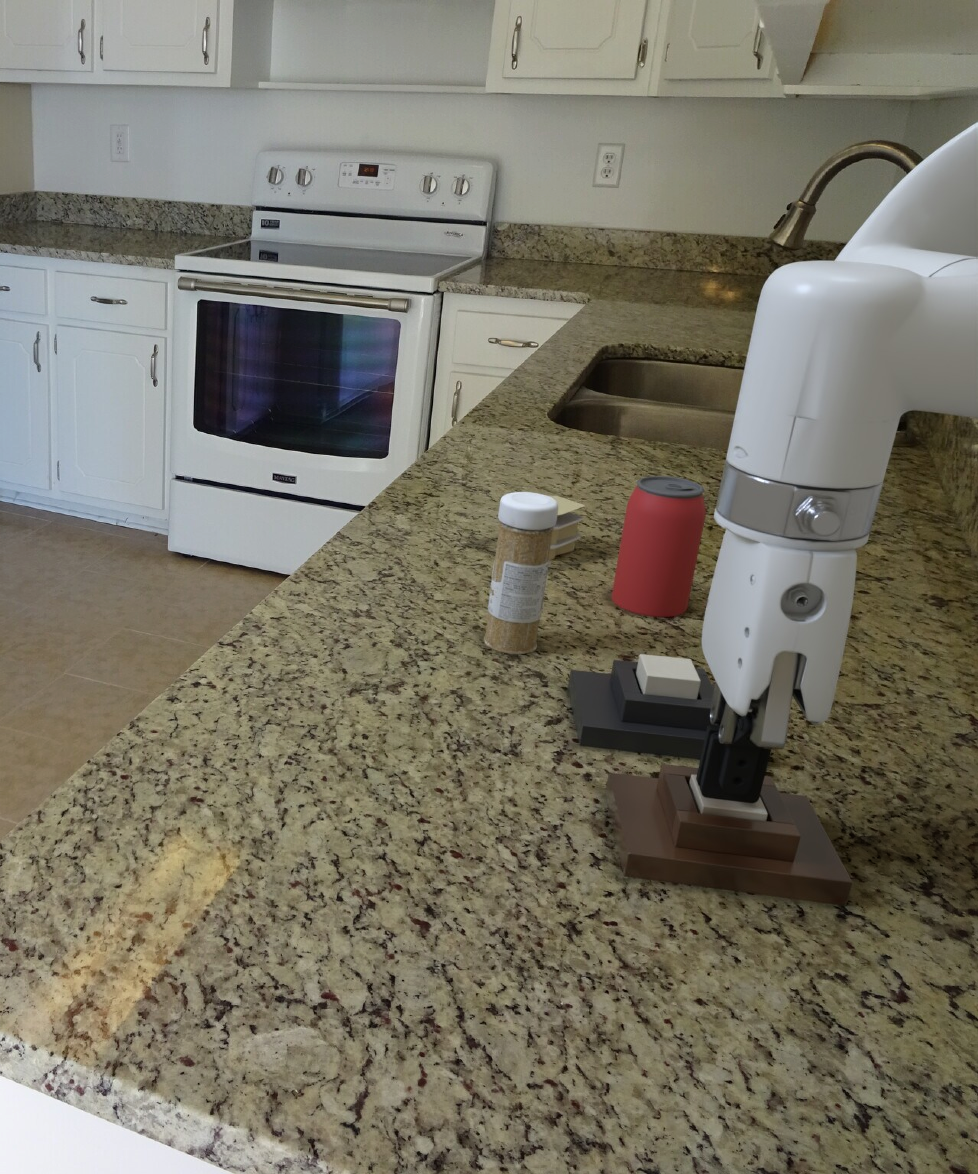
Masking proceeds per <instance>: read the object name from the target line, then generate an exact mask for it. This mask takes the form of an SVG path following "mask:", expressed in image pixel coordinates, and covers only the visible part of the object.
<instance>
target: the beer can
mask: <svg viewBox="0 0 978 1174" xmlns="http://www.w3.org/2000/svg"><path fill="white" fill-rule="evenodd" d="M704 493H705V488H704V486H702V485H701V484H700V483H698V482H695V481H694V480H689V479H686V478H682V477H675V476H666V475H651V476H650V475H649V476H644V477H640V478H639V479H638V480H637V481H636V487H635V488H634V489H633V491H632V493H631V494H630V495H629V498H628V501H627V503H626V509H625V514H624V521H623V527H622V533H621V538H620V544H619V551H618V556H617V561H616V568H615V574H614V580H613V584H612V585H613V586H612V592H611V600H612V602H613V604H615V606H617V607H619V608H621V609H622V610H624V611H628V612H630V613H632V614H637V615H641V616H646V617H654V618H673V617H678V616H680V615H683V614H685V612H686V611H687V610H688V606H689V602H690V597H691V590H692V586H693V582H694V576H695V572H696V567H697V561H698V556H699V551H700V546H701V541H702V537H703V531H704V526H705V521H706V516H707V512H706V511H707V510H706V509H707V508H706V503H705V499H704Z"/></svg>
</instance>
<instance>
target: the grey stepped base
mask: <svg viewBox="0 0 978 1174" xmlns="http://www.w3.org/2000/svg"><path fill="white" fill-rule="evenodd" d="M637 666H638V661H629V660H620V659H619V660H617V659H614V660H613V661H612V666H611V672H610V673H607V672H598V671H597V672H595V671H586V670H576V669H570V671H569V677H568V683H567V684H568V685H567V691H568V697H569V702H570V706H571V711H572V712H571V713H572V716H573V721H574V725H575V730H576V736H577V740H578V745H579V746H580V747H586V748H587V747H588V748H594V749H595V748H596V749H605V750H612V751H623V752H629V753H631V752H632V753H637V754H638V753H641V754H649V755H657V756H666V757H674V758H682V759H691V760H700V758H701V754H702V749H703V745H704V740H705V736H706V731H707V727H708V726H715V727H718V726H719V725H715V724H711V722H710V710H711V704H712V699H713V693H714V687H715V683H714V684H713V683H712V682H711V680H710V678H709V675H708V673H707V672H706V669H705V668H699V667H695V669H696V672H697V674H698V676H699V678H700V680H701V682H700V687H699V692H698V697H697V699H687V698H677V697H668V696H658V695H649V694H642V691H641V688H640V685H639V682H638V679H637V676H636V671H637Z"/></svg>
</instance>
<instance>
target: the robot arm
mask: <svg viewBox="0 0 978 1174" xmlns="http://www.w3.org/2000/svg"><path fill="white" fill-rule="evenodd" d="M850 238H851V239H849V241H848V242H847V243H846V244H845V246H844V247H843V248H842V250H841V251H840V252H839V253H838V255H837V256H836V257H835V259H834V260H806V261H805V260H804V261H795V262H791V263H787V264H784V265H782V266H780V267H778V268H776V269H775V270H773V272H772V273H771V274H770V275H769V276H768V278H767V279H766V280H765V282H764V284H763V286H762V289H761V291H760V295H759V299H758V302H757V307H756V312H755V317H754V321H753V325H752V331H751V336H750V340H749V345H748V350H747V354H746V355H747V356H746V360H745V363H744V364H745V365H744V368H743V369H744V370H743V374H742V379H741V384H740V387H739V393H738V399H737V402H736V403H737V404H736V407H735V413H734V419H733V423H732V428H731V432H730V438H729V443H728V447H727V452H726V453H727V454H726V457H725V460H724V465H723V470H722V473H721V474H722V475H721V480H720V485H719V489H718V494H717V498H716V503H715V508H714V513H713V520H714V521H715V523H716V524H717V525H718V526H719V527H721V528H722V529H723V530H724V529H725V531H724V533H723V536H722V542H721V546H720V549H719V552H718V557H717V561H716V564H715V569H714V572H713V576H712V580H711V584H710V589H709V593H708V597H707V602H706V606H705V607H706V608H705V612H704V617H703V623H702V631H701V649H702V653H703V656H704V658H705V661H706V664H707V666H708V667H709V670H710V672H711V674H712V676H713V678H714V680H715V681H714V684H715V687H714V693H713V699H712V704H711V710H710V722H711V724H715V725H719V726H718V727H715V726H708V727H707V731H706V736H705V740H704V745H703V749H702V754H701V758H700V759H699V763H698V767H697V768H698V772H697V776H696V780H697V783H698V785H699V787H700V791H701V793H702V795H703V796H704V797H705V798H712V799H721V800H729V801H737V802H746V803H755V802H757V801H758V800H759V797H760V793H761V789H762V785H763V781H764V777H765V776H766V773H767V769H768V765H769V760H770V756H771V752H772V750H773V749H774V750H775V749H777V750H783V749H784V748H785V745H786V740H787V734H788V728H789V720H790V715H791V710H792V709H791V708H792V701H793V699H794V701H795V702H796V704H797V706H798V707H799V709H800V710H801V712H802V714H803V716H804V717H805V719H806V720H807V722H809V723H811V724H812V725H819V726H820V725H822V724H824V723H826V721H827V720H829V718H830V714H831V711H832V707H833V704H834V699H835V694H836V690H837V685H838V680H839V676H840V672H841V667H842V661H843V657H844V652H845V647H846V642H847V638H848V637H847V636H848V632H849V627H850V626H849V625H850V622H851V615H852V608H853V602H854V596H855V586H856V577H857V565H858V563H857V562H858V552H857V550H856V549H860V548H861V547H864V546H865V545H866V544H867V543H868V541H869V537H870V534H871V530H872V526H873V522H874V519H875V515H876V512H877V507H878V504H879V500H880V498H881V497H880V496H881V493H882V489H883V485H884V479H885V477H886V473H887V468H888V465H889V462H890V458H891V455H892V451H893V446H894V442H895V439H896V435H897V431H898V427H899V424H900V420H901V417H902V416H903V415H904V414H906V413H908V412H911V411H918V412H928V413H934V414H935V413H937V414H944V415H952V416H957V417H958V416H959V417H966V418H972V419H978V121H976V122H975V123H974V124H972V125H970V126H969V127H967V128H966V129H964V130H963V131H961V132H960V133H958V134H957V135H956V136H954V137H952V138H950V139H949V140H948V141H947V142H945V143H944V144H943V145H941V146H940V147H938V148H937V149H935V150H934V151H933V152H932V153H931V154H929V155H928V156H927V157H925V158H924V159H923V160H922V161H921V162H919V163H918V164H917V165H915V167H913V169H912V170H911V171H909V172H908V173H907V174H906V175H904V177H903V178H902V179H901V180H900V181H899V182H898V183H896V185H895V186H894V187H893V188H892V189H891V190H890V191H889V193H888V194H887V195H886V196H885V197H884V199H883V200H881V202H880V203H879V205H878V206H877V207H876V208H874V210H873V212H871V214H870V215H869V216H868V217H867V219H865V221H864V222H863V224H862V225H861V226H860V227H859V228H858V229H857V231H856V232H855V234H853V236H852V237H850Z"/></svg>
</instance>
